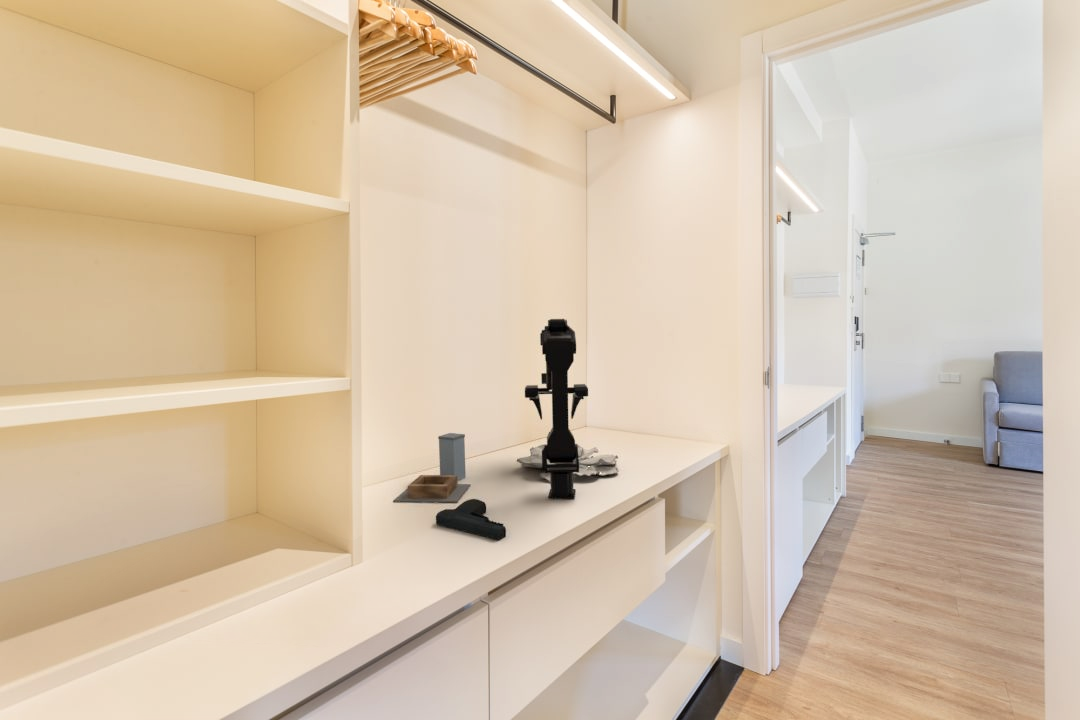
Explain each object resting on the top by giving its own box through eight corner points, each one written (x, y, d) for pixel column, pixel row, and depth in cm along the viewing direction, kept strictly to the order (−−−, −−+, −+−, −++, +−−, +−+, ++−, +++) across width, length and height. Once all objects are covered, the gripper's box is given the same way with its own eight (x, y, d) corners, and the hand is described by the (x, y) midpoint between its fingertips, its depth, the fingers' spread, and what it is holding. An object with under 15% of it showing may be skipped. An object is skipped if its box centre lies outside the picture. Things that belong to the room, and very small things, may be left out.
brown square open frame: (457, 486, 138) (457, 475, 138) (447, 498, 128) (446, 486, 128) (421, 486, 139) (420, 475, 139) (408, 497, 129) (407, 485, 129)
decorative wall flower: (624, 459, 139) (512, 460, 140) (624, 485, 139) (512, 485, 140) (613, 436, 169) (520, 436, 170) (613, 457, 169) (521, 457, 170)
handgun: (530, 526, 112) (496, 546, 102) (468, 510, 122) (431, 527, 111) (530, 511, 112) (496, 530, 102) (468, 497, 121) (431, 513, 111)
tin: (466, 478, 147) (464, 434, 146) (454, 483, 142) (453, 437, 142) (451, 476, 149) (449, 432, 149) (439, 480, 145) (438, 436, 144)
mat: (470, 485, 140) (470, 484, 140) (456, 503, 126) (456, 501, 126) (413, 485, 141) (413, 483, 141) (393, 502, 127) (393, 500, 127)
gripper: (584, 363, 163) (585, 412, 165) (524, 364, 163) (526, 413, 165) (588, 368, 152) (588, 420, 154) (524, 370, 152) (525, 422, 154)
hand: (556, 418), depth 157 cm, fingers open, 9 cm apart
